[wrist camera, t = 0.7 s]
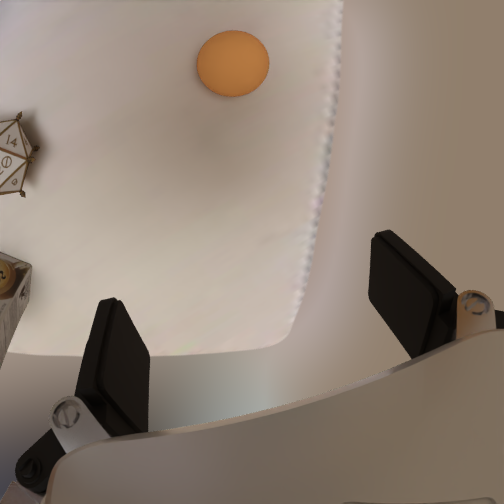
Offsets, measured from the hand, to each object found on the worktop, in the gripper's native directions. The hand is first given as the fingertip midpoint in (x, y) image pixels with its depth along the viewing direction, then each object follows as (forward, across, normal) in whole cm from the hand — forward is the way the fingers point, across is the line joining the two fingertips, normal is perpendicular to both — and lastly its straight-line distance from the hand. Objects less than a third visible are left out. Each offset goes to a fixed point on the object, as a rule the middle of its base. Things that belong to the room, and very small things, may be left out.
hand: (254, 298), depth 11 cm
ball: (+19, -3, -9) cm, 21 cm away
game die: (+22, +20, -8) cm, 30 cm away
